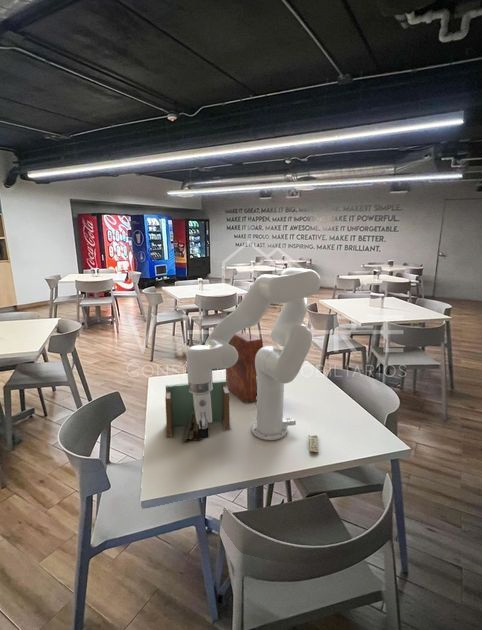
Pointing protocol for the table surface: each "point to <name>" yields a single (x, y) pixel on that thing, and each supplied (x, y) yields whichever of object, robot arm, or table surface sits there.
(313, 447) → the snack bar
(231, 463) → the table surface
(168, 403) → the cubby shelf
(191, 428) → the chocolate cake
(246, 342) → the handbag
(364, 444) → the table surface
